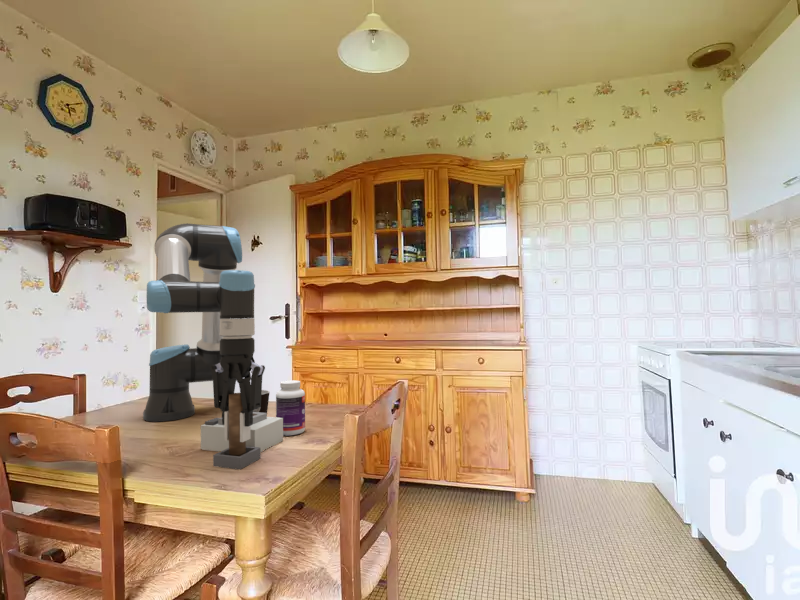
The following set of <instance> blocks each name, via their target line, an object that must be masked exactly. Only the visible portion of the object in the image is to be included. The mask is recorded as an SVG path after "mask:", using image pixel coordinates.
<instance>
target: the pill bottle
mask: <svg viewBox="0 0 800 600" xmlns="http://www.w3.org/2000/svg"><path fill="white" fill-rule="evenodd" d="M300 387H301V381H300V380H296V379H295V380H293V379H292V380H291V379H290V380H282V381H280V387H279V388H281V389H279V390H277V392H276V394H275V411H276V412H275V417H278V418H283V436H285V437H286V436H287V437H288V436H297V435H299V434H300V435H301V434H302V433H303V432H305V430H306V393H305V390H303V389H302V388H300Z"/></svg>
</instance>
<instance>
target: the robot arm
mask: <svg viewBox="0 0 800 600" xmlns="http://www.w3.org/2000/svg"><path fill="white" fill-rule="evenodd" d="M153 248H154V253H155V256H156V258H157V271H156V273H157V275H156V276H157V277H156V279H157V280H150V281H148V282H147V283H146V308H147V309H146V310H147V311H148V312H150V313H163V314H169V313H170V314H175V313H176V314H177V313H202V314H201V315H202V316H201V318H202V319H201V339H199V340H198V341H197V342H196V347H195V348H193V347H192V348H190V345H189V344H178V345H171V346H165V347H161V348H157V349H154V350H152V351H151V352H150V354H149V363H148V366H149V395H148V397H147V398H148V399H147V402H146V404H145V407H144V408H145V409H144V410H143V413H142V419H144V421H145V420H146V421H145V422H169V421H175V420H180V419H181V420H182V419H186V418H189V417H191V416H194V415H195V413H196V410H195V409H196V407H195V405H194V403H193V399H192V396H191V392H190V383H191V384H193V383H203V382H204V383H205V382H212V386H213V387H212V388H213V391H212V392H213V406H214V407H215V409H217V408H218V409H220V411H221V418H222V424H223V425H224V441H228V440H229V394H232V393H235V391H236V384H238V385H239V386H238V387H239V393H240V394H241V401H242V407H243V411H241V413H240V442H244V441H247V440H249V439H250V426H251V425H252V424H253V411H254V410H255V409H258V408H260V407H261V393H262V390H263V389H262V388H263V375H264V372H265V370H266V366H265V365H263V364H262V365H260V364H257V363H256V361H255V359H254V353H255V352H256V351H255V350H256V349H255V338H254V336H255V332H256V331H255V327H256V326H255V288H256V284H255V275H254V273H253V272H252V271H249V270H243V269H242V270H240V269H238V268H237V267H238V266H237V264H241V263H242V262H243V248H242V240H241V236H240V233H239V230H238V229H236V228H235V227H230V226H226V225H214V224H213V225H211V224H198V223H180V224H175V225H173V226H171V227H168V228H166V229H165V230H164V231H162V232H161V233H160V234H158V237H156V240H155V242H154V247H153ZM189 261H193V262H195V261H196V262H198V267H199V268H200V269H201V271H202V273H203V276H202V278H203V279H202V281H191V273H190V272H191V271H190V264H189V263H190V262H189ZM236 382H237V383H236Z"/></svg>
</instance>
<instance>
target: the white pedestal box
mask: <svg viewBox="0 0 800 600" xmlns="http://www.w3.org/2000/svg"><path fill="white" fill-rule="evenodd" d="M283 441H284V435H283V418H278V417H276V416H268V412H267V413H261V412H253V424H252V425H251V426H250V439H249V440H247V441H246V446H249V447H259V448H260V453H262V452H263V450H264V451H266V450H268V449H270V448H272V447H273V446H275V445H277V444H279V443H281V442H283ZM271 446H272V447H271ZM269 447H270V448H269ZM227 448H229V440H228V441H224V425H223V424H222V417H215V418H212V419H209V420H205V421H204V424H201V425H200V450H201V449H202V450H201V451H211V452H219V451H223V450H225V449H227ZM267 448H268V449H267ZM265 449H266V450H265Z"/></svg>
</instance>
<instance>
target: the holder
mask: <svg viewBox="0 0 800 600" xmlns="http://www.w3.org/2000/svg"><path fill="white" fill-rule="evenodd" d="M260 459H261V452H260V448H259V447H249V446H246V453H245V454H243V455H241V456H231V455H229V448H227V449H225V450H223V451H221V452H219V451H218V452H217V453H215V454H213V455H212V464H213V465H212V466H213V467H216V468H224V469H231V470H238V471H239V470H242V469H243V468H246V467H247V466H249V465H251V464H253V463H255V462H256V461H258V460H260Z"/></svg>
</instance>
